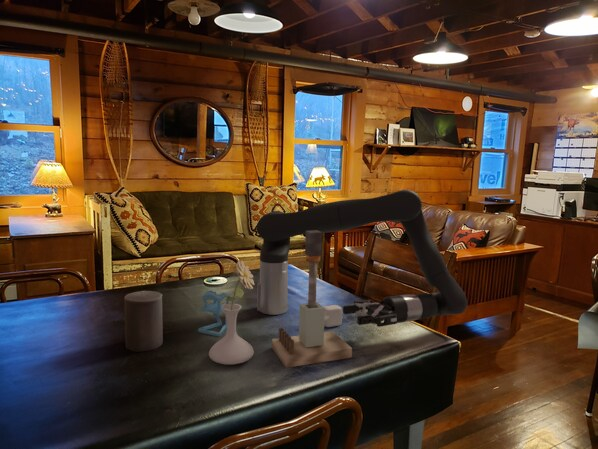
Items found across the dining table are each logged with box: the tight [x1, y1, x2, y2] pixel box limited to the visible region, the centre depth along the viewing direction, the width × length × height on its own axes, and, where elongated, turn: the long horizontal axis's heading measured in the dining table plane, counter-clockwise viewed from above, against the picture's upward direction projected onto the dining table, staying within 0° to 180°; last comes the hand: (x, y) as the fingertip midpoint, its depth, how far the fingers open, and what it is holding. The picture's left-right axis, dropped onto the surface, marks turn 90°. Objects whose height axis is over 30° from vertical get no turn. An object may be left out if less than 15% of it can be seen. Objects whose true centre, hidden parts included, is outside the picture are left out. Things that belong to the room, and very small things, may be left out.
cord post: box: [271, 230, 353, 369], centre depth 116 cm, size 18×12×32 cm, turn 111°
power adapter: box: [323, 304, 343, 328], centre depth 136 cm, size 11×5×6 cm, turn 116°
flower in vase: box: [208, 260, 255, 365], centre depth 113 cm, size 13×11×25 cm
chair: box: [197, 290, 232, 338], centre depth 132 cm, size 8×8×12 cm
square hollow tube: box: [298, 301, 325, 348], centre depth 117 cm, size 5×5×10 cm
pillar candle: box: [123, 290, 164, 353], centre depth 120 cm, size 10×10×15 cm
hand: (350, 315), depth 121 cm, fingers open, 8 cm apart
